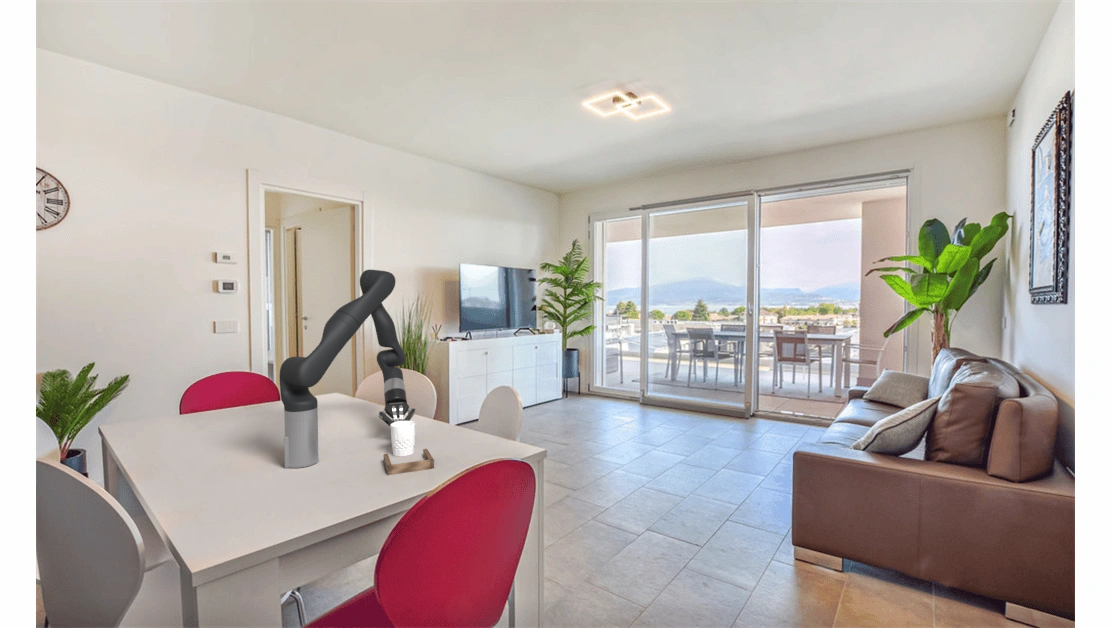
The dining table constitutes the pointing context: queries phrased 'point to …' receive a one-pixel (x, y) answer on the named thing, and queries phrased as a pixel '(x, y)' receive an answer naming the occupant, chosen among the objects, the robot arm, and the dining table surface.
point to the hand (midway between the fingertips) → (399, 434)
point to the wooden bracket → (409, 464)
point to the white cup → (403, 438)
